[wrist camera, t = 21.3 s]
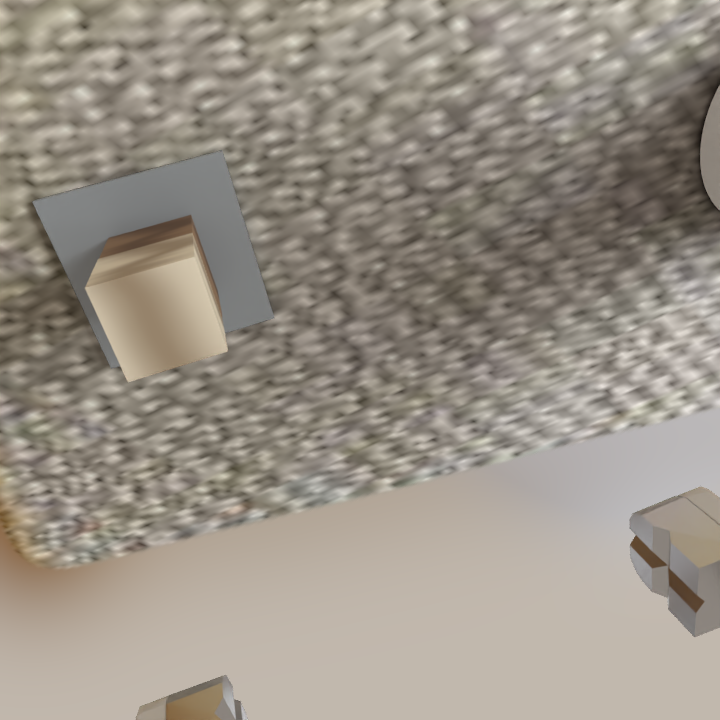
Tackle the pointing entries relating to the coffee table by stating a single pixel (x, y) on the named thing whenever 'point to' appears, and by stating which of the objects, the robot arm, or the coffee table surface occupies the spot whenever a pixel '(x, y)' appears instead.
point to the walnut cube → (157, 235)
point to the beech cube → (157, 307)
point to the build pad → (154, 206)
